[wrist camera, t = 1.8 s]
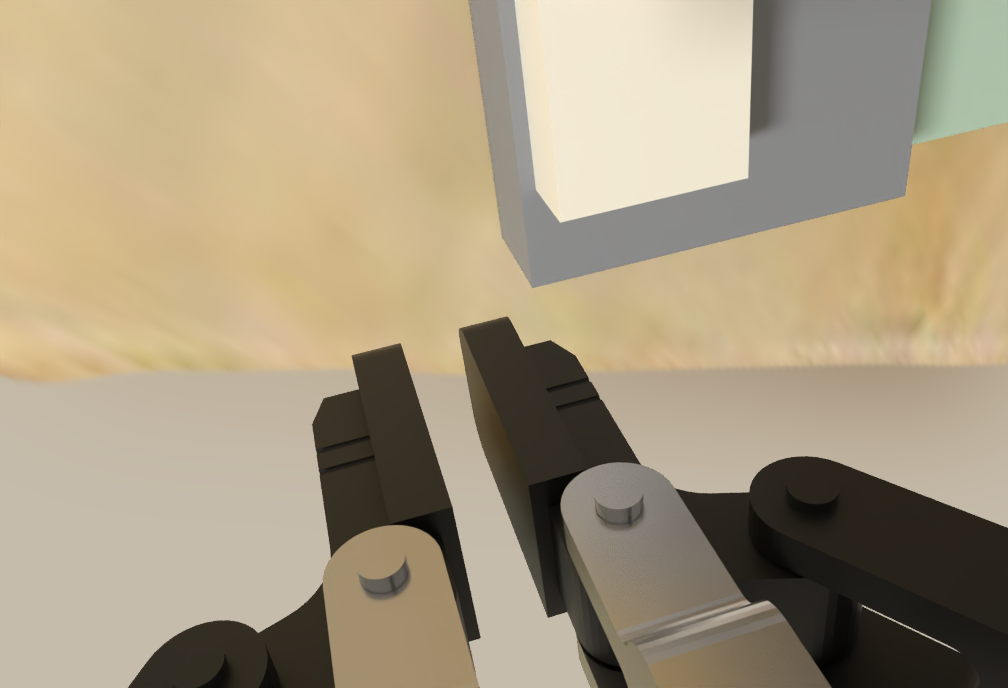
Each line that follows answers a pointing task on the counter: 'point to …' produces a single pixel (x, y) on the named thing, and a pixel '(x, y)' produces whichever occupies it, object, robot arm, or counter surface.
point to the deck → (772, 139)
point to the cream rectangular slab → (634, 98)
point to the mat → (963, 69)
